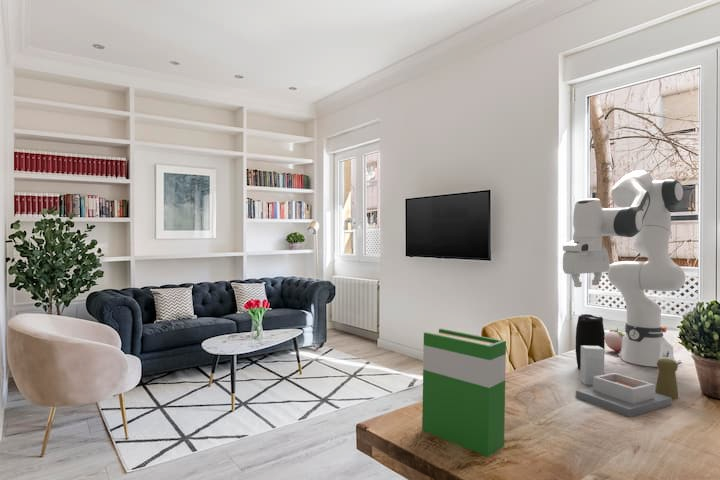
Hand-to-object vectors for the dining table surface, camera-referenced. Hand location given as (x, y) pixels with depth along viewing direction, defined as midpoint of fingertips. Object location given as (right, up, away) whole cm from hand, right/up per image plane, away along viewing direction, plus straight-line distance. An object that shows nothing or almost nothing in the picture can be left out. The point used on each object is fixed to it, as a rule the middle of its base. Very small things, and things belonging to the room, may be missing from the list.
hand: (586, 286), depth 150 cm
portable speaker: (+6, -32, +9) cm, 33 cm away
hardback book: (-54, -31, -46) cm, 77 cm away
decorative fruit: (+30, -32, +34) cm, 55 cm away
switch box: (0, -32, -21) cm, 38 cm away
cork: (+16, -32, -16) cm, 39 cm away
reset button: (0, -30, -21) cm, 36 cm away
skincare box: (-1, -32, -6) cm, 32 cm away
